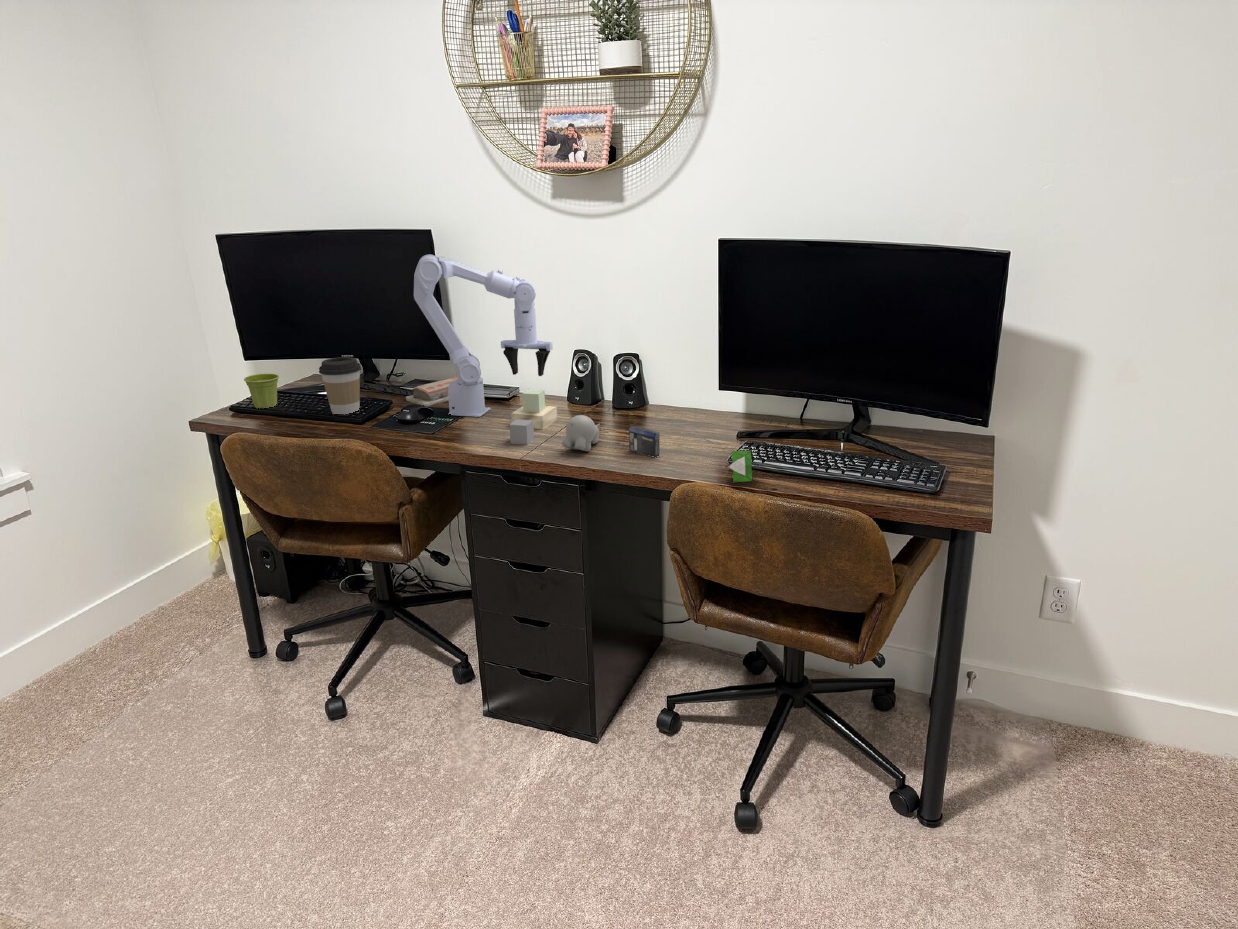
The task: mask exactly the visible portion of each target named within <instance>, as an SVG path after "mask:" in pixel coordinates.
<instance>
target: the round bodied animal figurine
mask: <svg viewBox="0 0 1238 929" xmlns="http://www.w3.org/2000/svg"><path fill="white" fill-rule="evenodd" d="M600 427H601V423H597V424H595V422H594V421H593V420H592V418H590V417H589V416H587V415H583V414H578V415H575V416H573V417H571V418H570V419H569V420H568V422H567V423H566V427H565V434H566V435H565V437H564V438H563V440H562V442H561V445H562V446H563V447H564V448H566V449H571V450H581V451H583V452H591V449H592V445H594V444H596V443H598V442H599V439H600V438H599V435H600Z"/></svg>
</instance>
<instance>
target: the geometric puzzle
mask: <svg viewBox="0 0 1238 929" xmlns="http://www.w3.org/2000/svg"><path fill="white" fill-rule="evenodd" d="M752 452H753V451H752V449H750V450H736V451H735V450H731V453H730V455H731V456H729V458H730V459H731V458H732V459H731V460H732V461H731V462H730V459H729V458H728V460H727V461H728V462H729V463H727V464H726V466H724V468H725V469H726V471H728V470H729V471H731V472H732V473H731V472H729V475H730V478H731V481H732V483H740V482H742V483H743V482H753V480H754V479H753V478H754V477H753V476H755V473H757V471H758V470H757V471H756V472H755V473H753V471H755V470H756V468H757V469H758V467H760V464H759V463H758V462H757V461H754V454H753V453H752ZM752 462H753V465H752ZM756 462H757V463H756ZM727 469H728V470H727ZM752 469H753V470H752ZM752 473H753V474H752Z"/></svg>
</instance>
